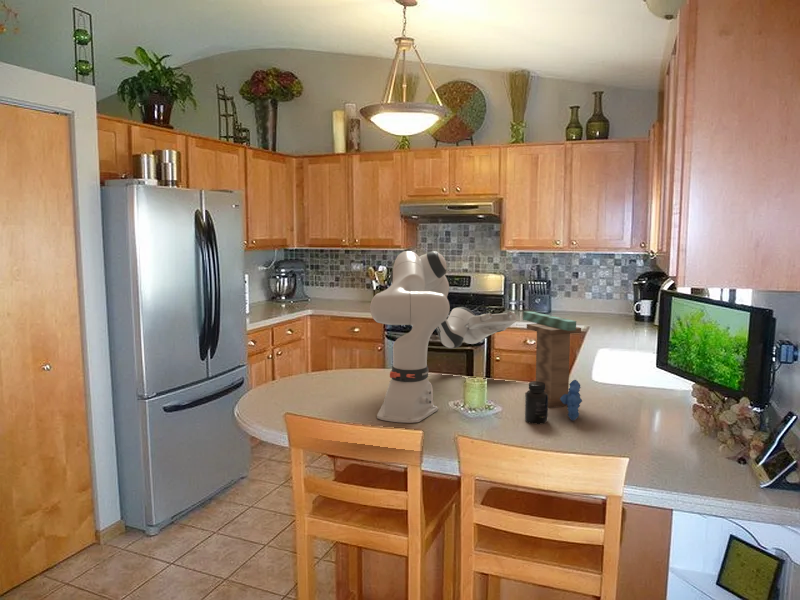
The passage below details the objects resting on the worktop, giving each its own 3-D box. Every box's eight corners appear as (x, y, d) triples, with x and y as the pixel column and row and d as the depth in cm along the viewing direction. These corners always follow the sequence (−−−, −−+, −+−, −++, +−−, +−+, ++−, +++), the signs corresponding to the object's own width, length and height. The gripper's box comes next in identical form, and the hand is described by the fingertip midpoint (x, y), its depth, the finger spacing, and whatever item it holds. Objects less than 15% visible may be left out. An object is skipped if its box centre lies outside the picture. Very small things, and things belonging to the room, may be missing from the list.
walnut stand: (525, 396, 209) (526, 324, 206) (553, 393, 213) (555, 321, 210) (549, 407, 196) (551, 330, 193) (578, 403, 201) (581, 328, 197)
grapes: (561, 411, 192) (562, 375, 191) (582, 413, 190) (583, 377, 189) (557, 422, 181) (558, 384, 180) (580, 425, 179) (581, 386, 178)
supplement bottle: (520, 418, 185) (521, 381, 184) (539, 416, 187) (540, 379, 186) (532, 425, 179) (533, 386, 177) (552, 423, 181) (553, 384, 180)
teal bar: (523, 319, 216) (523, 311, 216) (530, 319, 217) (530, 311, 217) (568, 330, 192) (568, 321, 192) (576, 330, 193) (576, 321, 193)
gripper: (461, 320, 242) (475, 308, 230) (504, 316, 250) (520, 304, 238) (464, 334, 241) (479, 324, 228) (507, 330, 248) (524, 319, 236)
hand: (500, 314), depth 233 cm, fingers open, 8 cm apart
